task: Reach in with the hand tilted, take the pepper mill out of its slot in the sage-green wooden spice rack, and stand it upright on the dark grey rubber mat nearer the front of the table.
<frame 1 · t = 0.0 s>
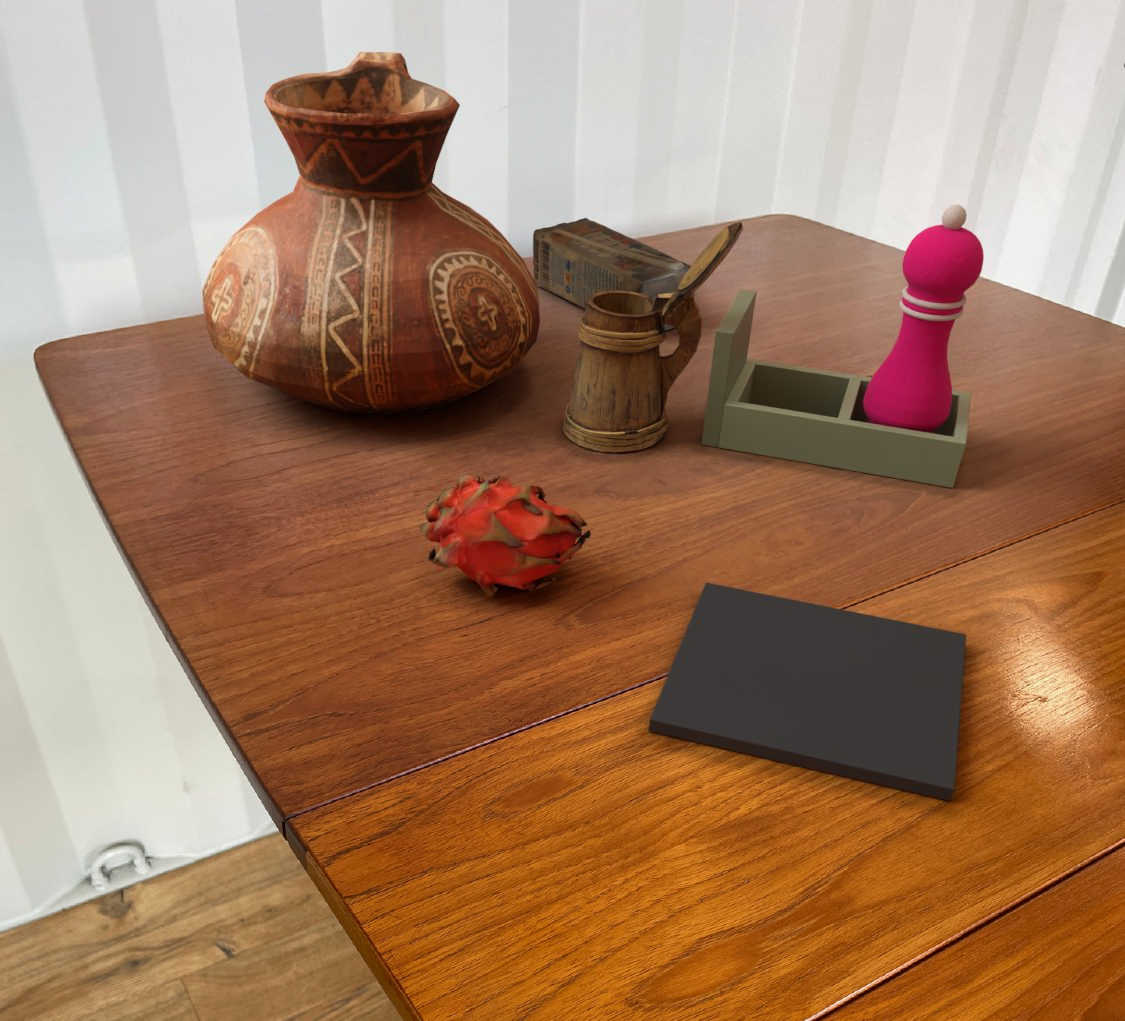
pepper mill: (894, 452, 95), resting in spice rack
spice rack: (854, 444, 96), on the table
dragon fruit: (506, 579, 78), on the table
wooden mug: (638, 435, 96), on the table
jug: (380, 380, 103), on the table
mat: (813, 686, 70), on the table
beverage carton: (610, 307, 119), on the table
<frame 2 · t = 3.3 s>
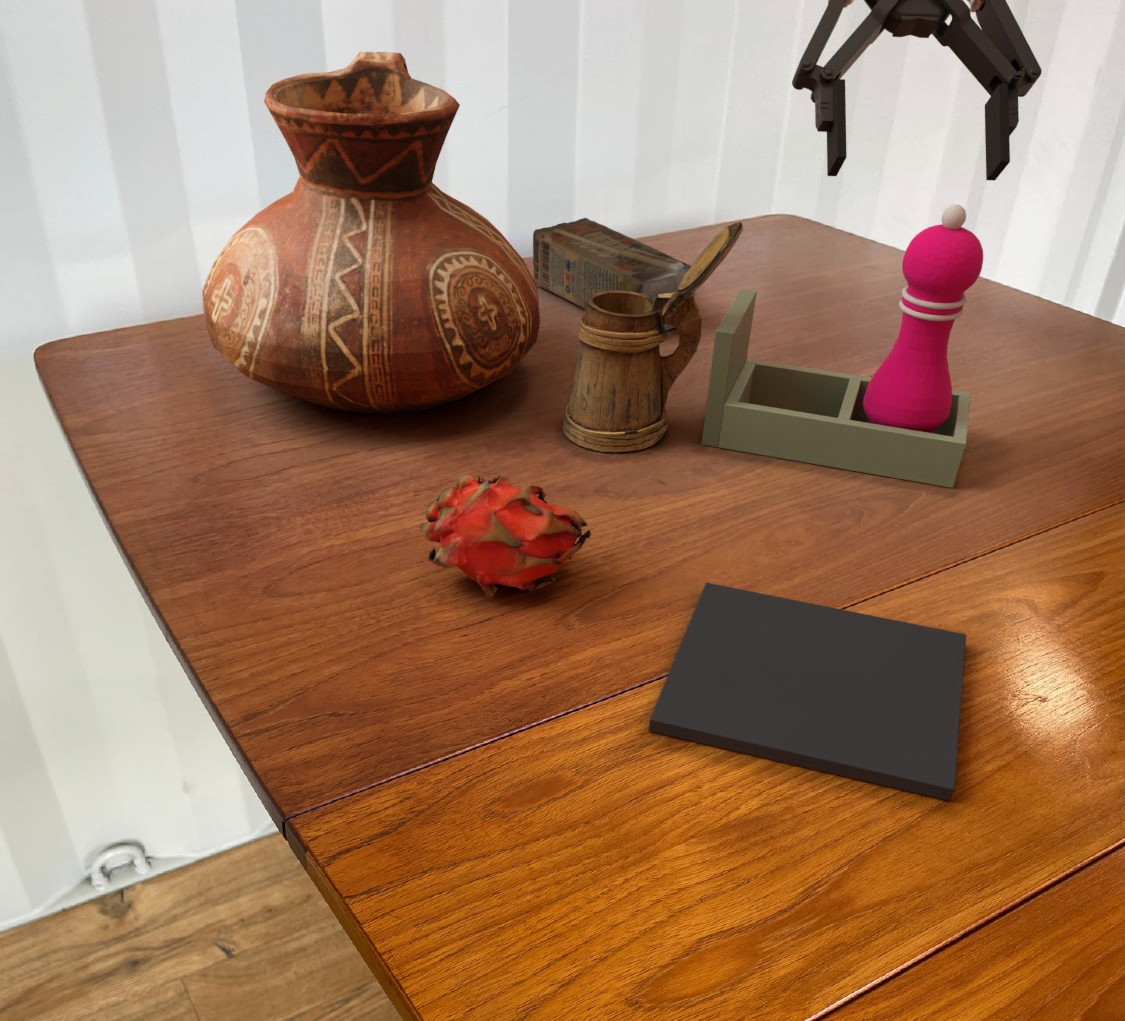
hand: (917, 169, 89), 20 cm above the table, tool tilted 45°, fingers open, 13 cm apart
nothing on the table moved.
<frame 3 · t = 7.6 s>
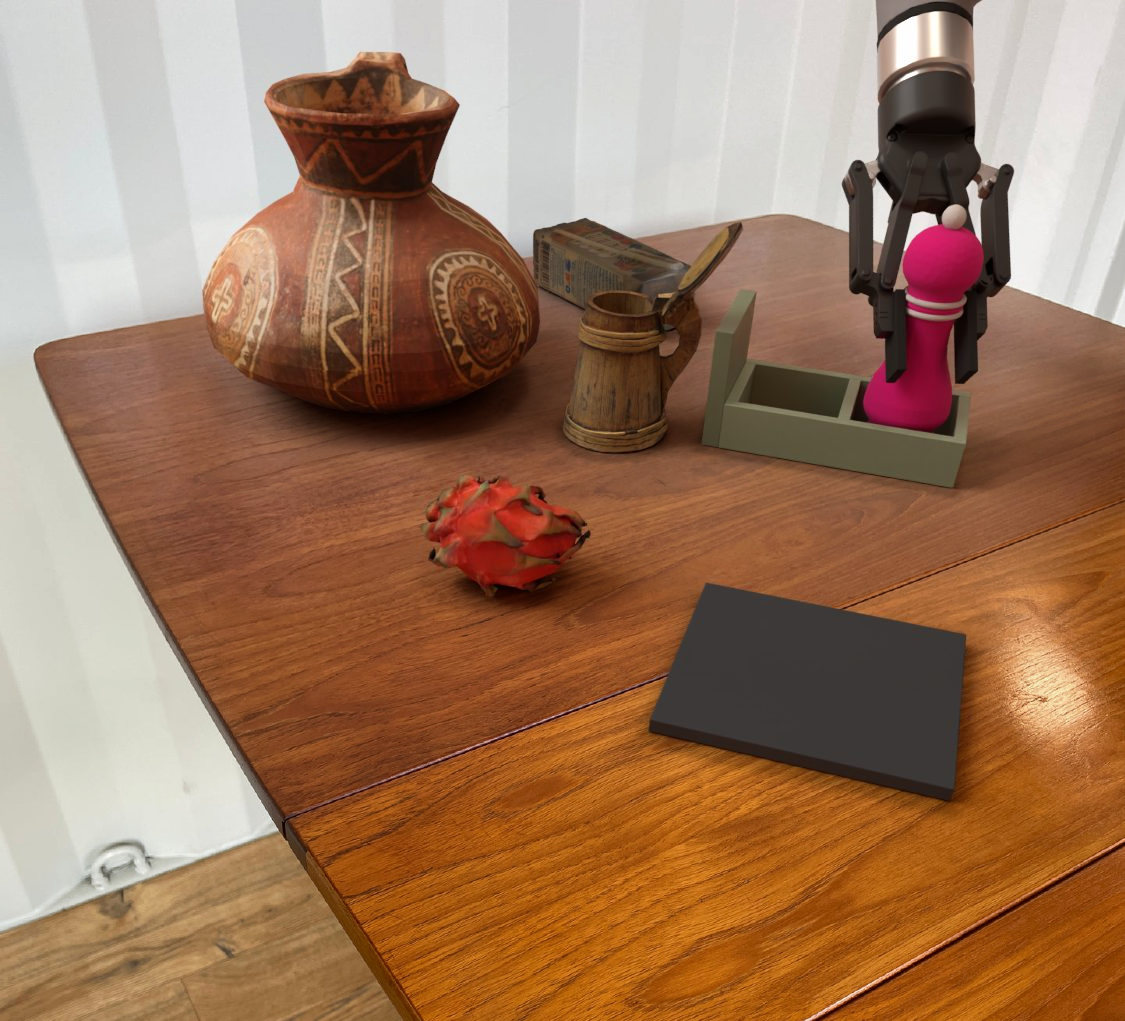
hand: (931, 376, 87), 8 cm above the table, tool tilted 45°, fingers closed on pepper mill, 5 cm apart
pepper mill: (894, 452, 95), resting in spice rack, touching gripper
everything else where it was.
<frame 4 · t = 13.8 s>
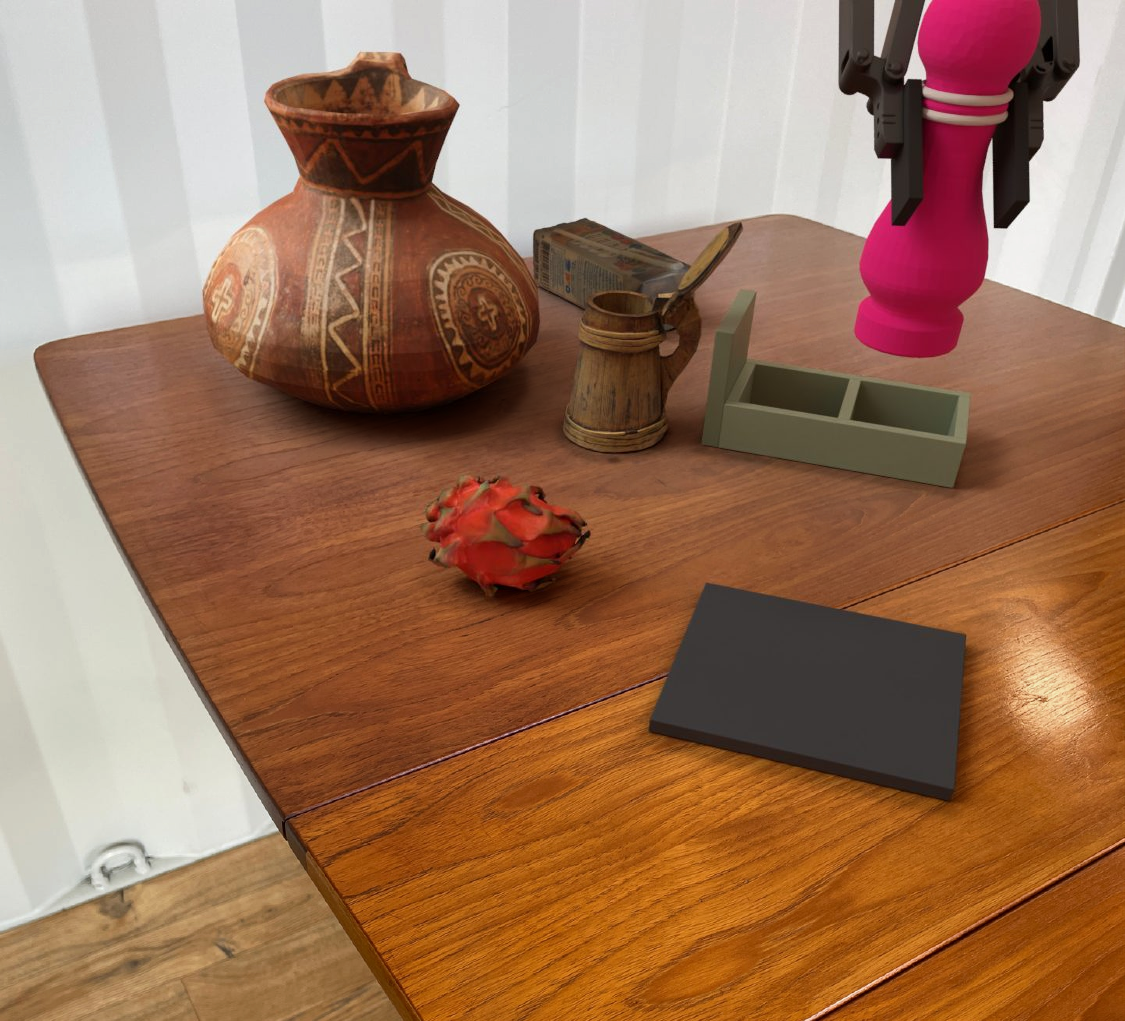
hand: (959, 213, 58), 26 cm above the table, tool tilted 45°, fingers closed on pepper mill, 5 cm apart
pepper mill: (903, 342, 67), point 18 cm above the table, touching gripper
everything else where it was.
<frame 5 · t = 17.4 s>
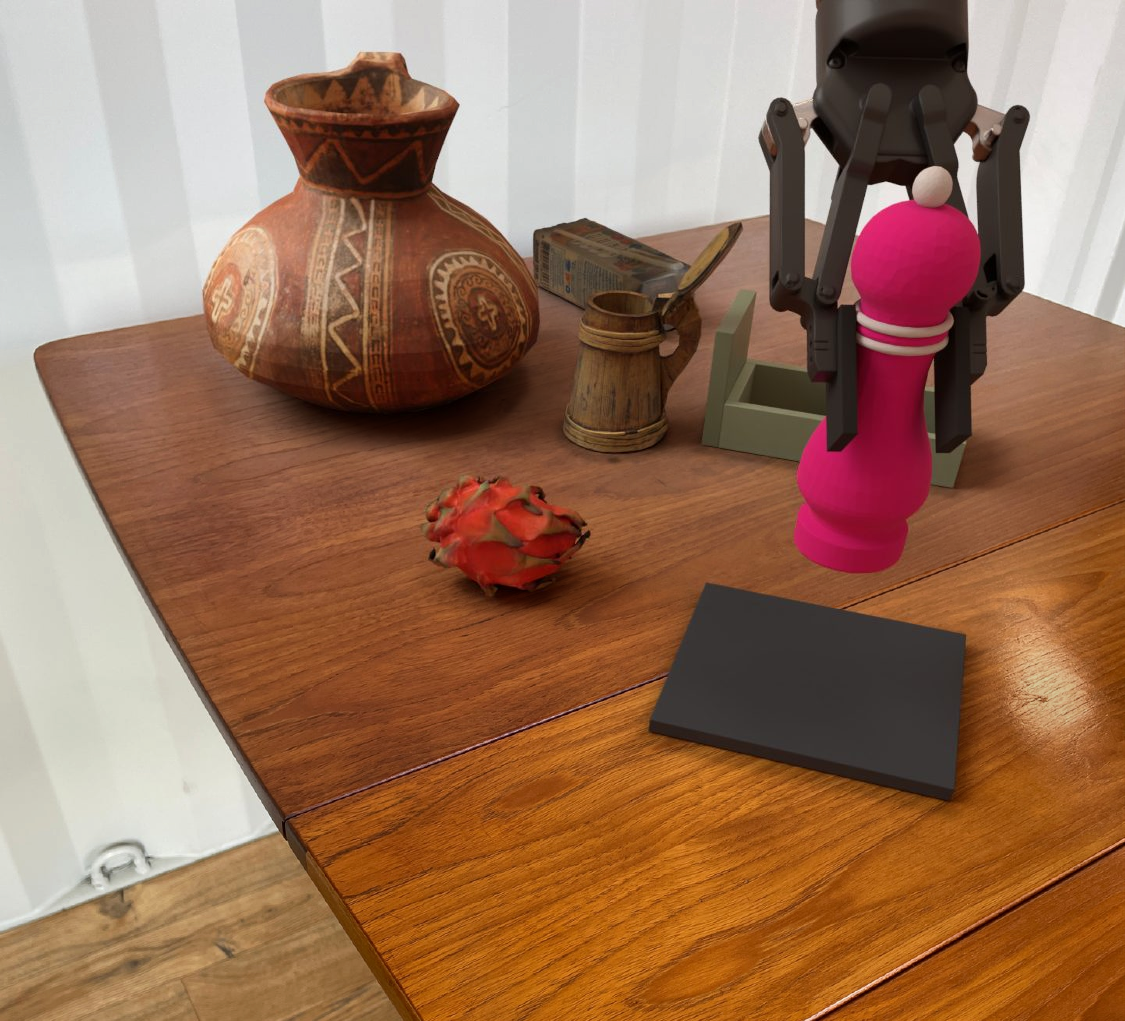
hand: (897, 443, 55), 19 cm above the table, tool tilted 45°, fingers closed on pepper mill, 5 cm apart
pepper mill: (846, 548, 63), point 10 cm above the table, touching gripper
everything else where it was.
when the fingers open (9 cm above the table, at t = 20.2 s): pepper mill stays where it is, resting on mat.
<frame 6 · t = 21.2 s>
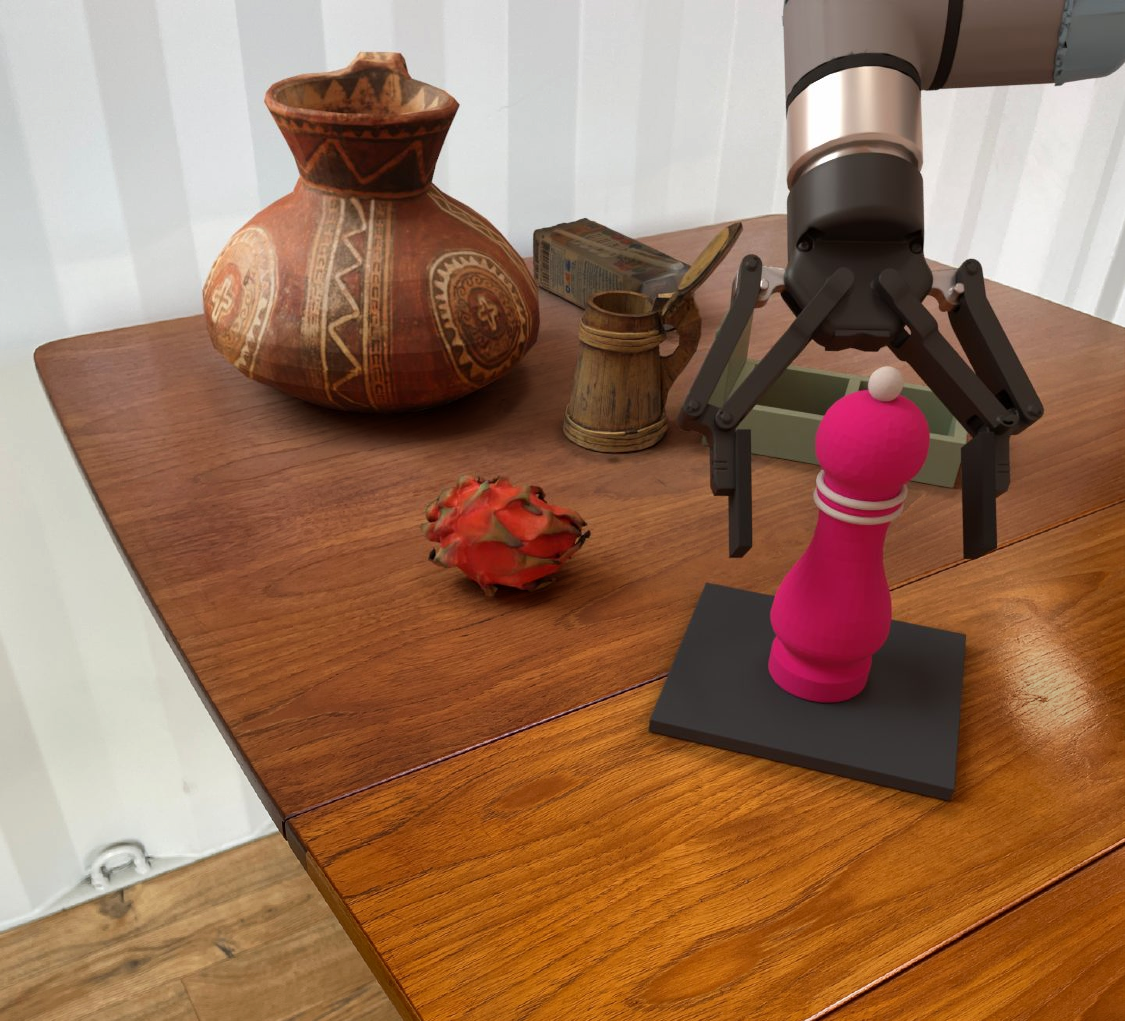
hand: (860, 554, 61), 11 cm above the table, tool tilted 45°, fingers open, 13 cm apart
pepper mill: (816, 675, 69), point 1 cm above the table, touching mat
everything else where it was.
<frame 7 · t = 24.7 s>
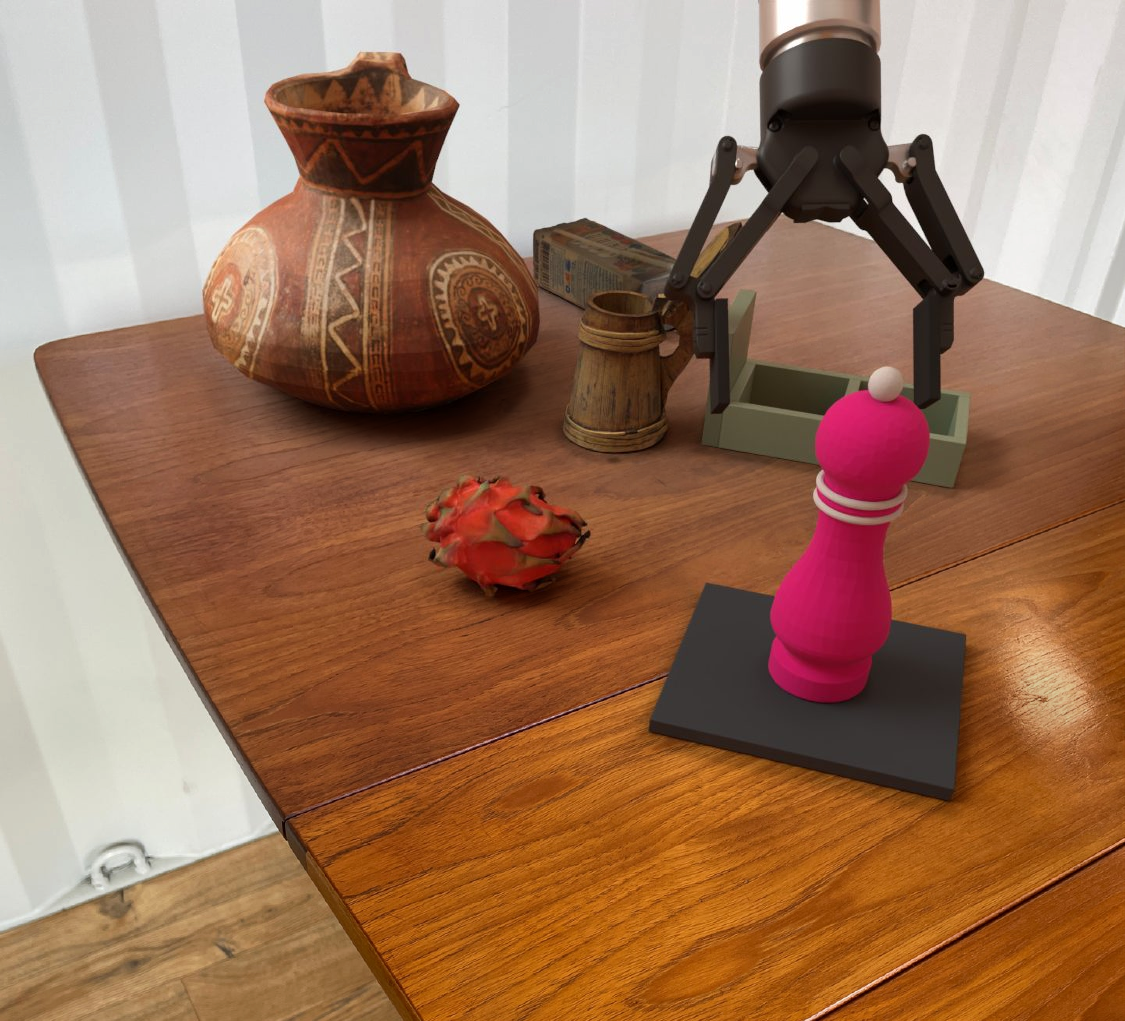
hand: (823, 407, 70), 13 cm above the table, tool tilted 40°, fingers open, 13 cm apart
nothing on the table moved.
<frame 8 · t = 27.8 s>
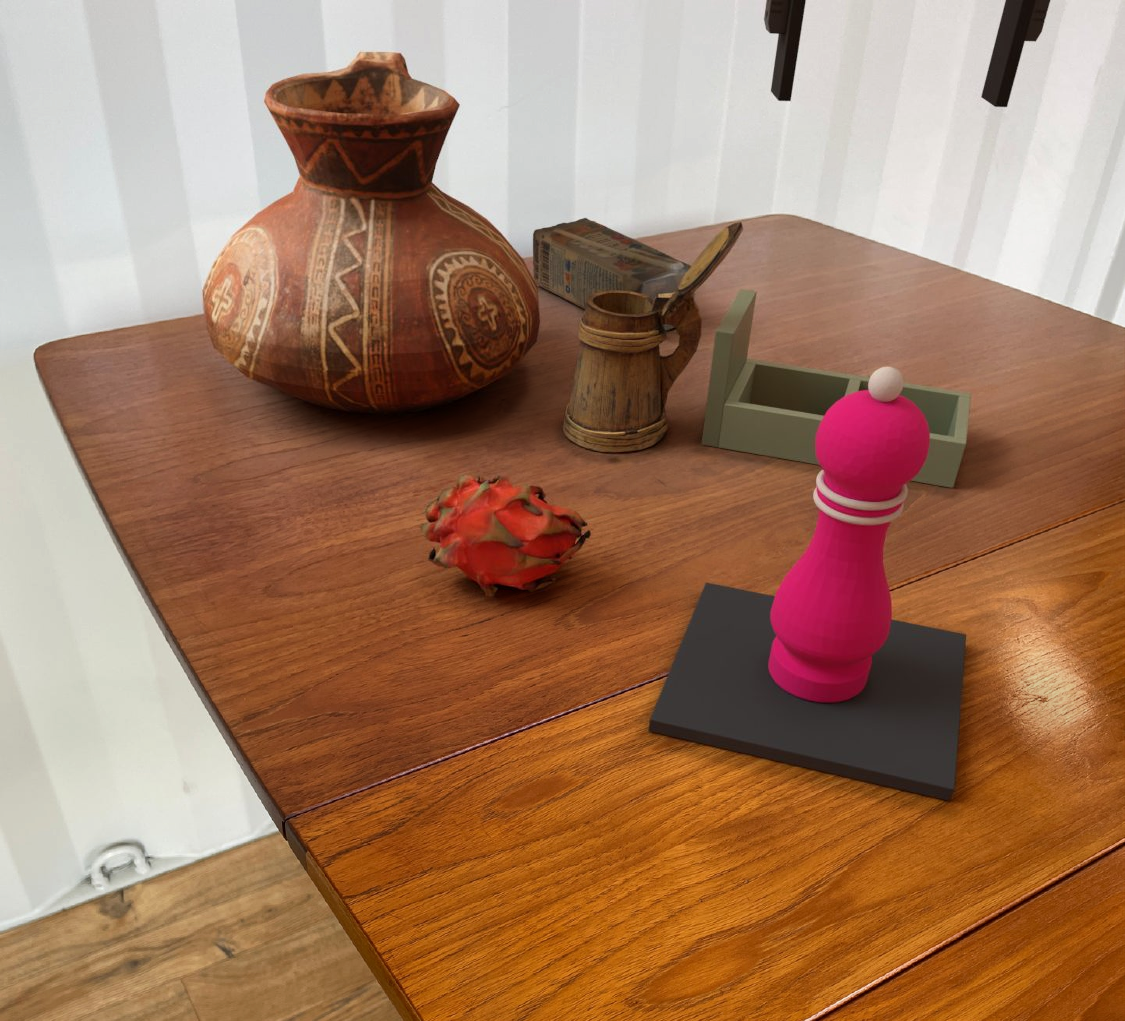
hand: (887, 100, 68), 29 cm above the table, tool pointing down, fingers open, 13 cm apart
nothing on the table moved.
at the end: pepper mill inside the target area on the mat (0.1 cm from its centre), point 0.8 cm above the mat's base; pepper mill tilted 0°; pepper mill touching mat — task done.
